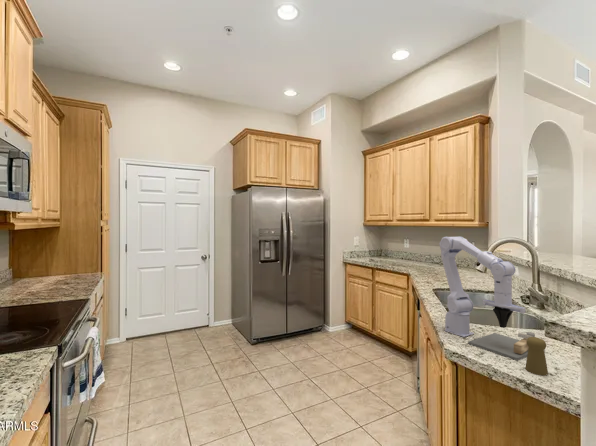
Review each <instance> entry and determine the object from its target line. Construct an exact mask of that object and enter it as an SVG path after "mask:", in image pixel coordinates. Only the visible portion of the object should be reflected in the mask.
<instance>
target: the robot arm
mask: <svg viewBox="0 0 596 446" xmlns="http://www.w3.org/2000/svg"><path fill="white" fill-rule="evenodd" d="M438 243H439V249H440V257H441V262H442V265H443V268H444V272H445V277H446V279H447V280H446V281H447V283H448V284H447V285H448V288H449V291H450V293H449V295H447V297H446V299H447V303H446V304H447V305H446V306H447V309H448V311H447V312H446V314H445V316H444V317H445V319H444V320H445V321H444V322H445V324H444V325H445V326H444V327H445V329H444V332H447V333H450V334H453V335H456V336H459V337H463V338H467V337H469V336H472V335H474V334H475V333H474V332H472V331H470V325H471V324H470V323H471V322H470V314H471V312H472V311H473V310H474V303H473V301H472V299H471V298H470V295H469V294H468V293H467V292H465V290H464V289H463V288H464V287H463V283H462V280H461V277H460V273H459V269H458V266H457V262H456V256H457V255H458V254H459V253H460V252H461V251H465V252H466V253H467V254H469V255H472V256H473V257H475V258H476V259H477V262H478V263H479V264H481V265H482V266H484V267H486V268H487V269H488V270H489V271H490V273H491V274H492V276H493V281H494V283H493V284H494V285H493V288H494V289H493V292H494V293H493V297H494V298H493V299H494V300H491V299H482V306H490V307H494V308H493V309H492V311H493V313H494V315H495V316H496V318H497V320H498V324H499V327H500V328H503V329H506V328H507V325H508V322H509V319H510V317H511V316H512V314H513V312H517V313H520V314H525V313H526V307H523V306H520V305H517V304H514V303H513V285H512V284H513V276H514V275H515V272H516V267H515V265H514V264H513V263H512V262H511V261H509V260H507V261H506V260H505V261H504V260H503V258H501V257H497V256H496V255H494V254H493V252H492V251H491V250H490V251H487V250H484V251H482V250H481V249H479V248H478V247H476V246H475V245H474V244H473V243H471V242H470V241H468V239H467V238H464V237H463V236H461V235H460V236H443V237H441V240H440V241H439V242H438Z"/></svg>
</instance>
